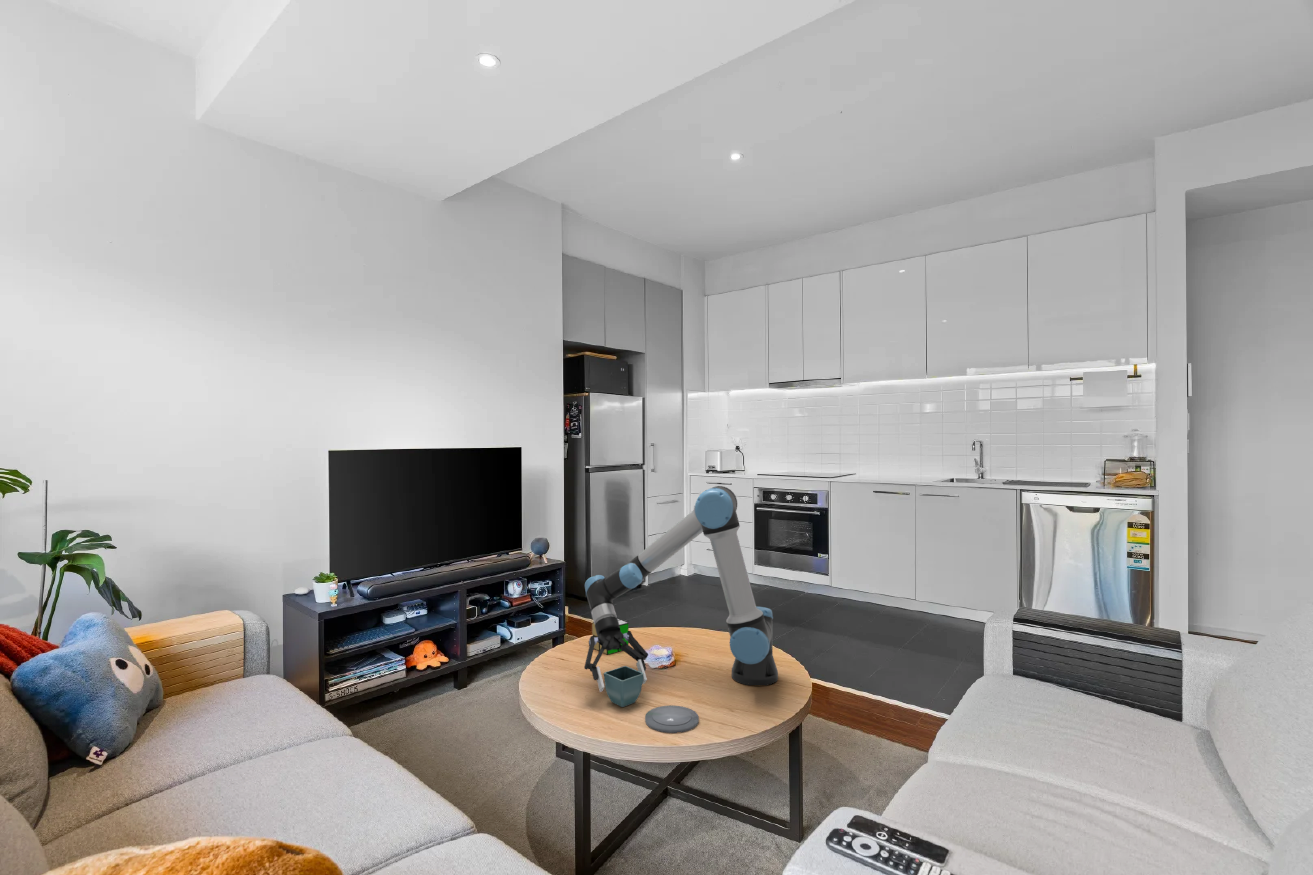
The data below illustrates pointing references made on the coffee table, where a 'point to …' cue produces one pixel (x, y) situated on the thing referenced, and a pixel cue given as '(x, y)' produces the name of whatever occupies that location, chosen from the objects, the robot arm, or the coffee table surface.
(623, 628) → the puzzle cube
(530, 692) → the coffee table surface
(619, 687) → the flower pot
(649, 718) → the saucer
